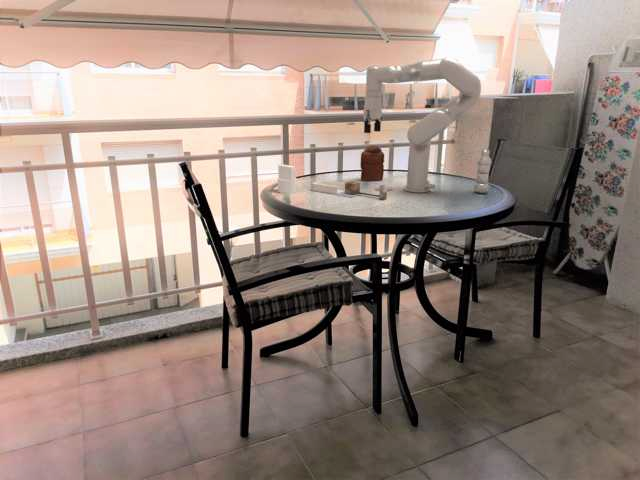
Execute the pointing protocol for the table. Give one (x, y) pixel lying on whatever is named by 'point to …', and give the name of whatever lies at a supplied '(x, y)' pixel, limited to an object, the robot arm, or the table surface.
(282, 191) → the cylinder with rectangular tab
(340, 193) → the mat
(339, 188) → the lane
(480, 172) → the plastic bottle
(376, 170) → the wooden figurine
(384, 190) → the rod with block end
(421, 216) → the table surface
